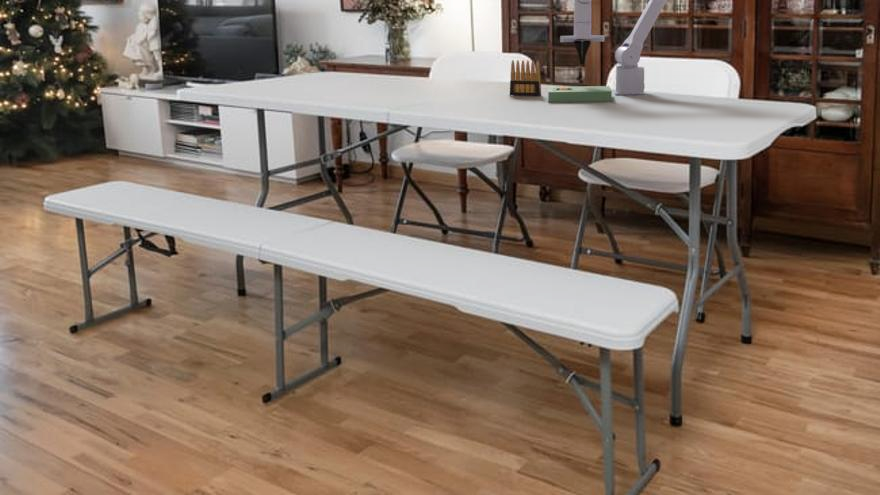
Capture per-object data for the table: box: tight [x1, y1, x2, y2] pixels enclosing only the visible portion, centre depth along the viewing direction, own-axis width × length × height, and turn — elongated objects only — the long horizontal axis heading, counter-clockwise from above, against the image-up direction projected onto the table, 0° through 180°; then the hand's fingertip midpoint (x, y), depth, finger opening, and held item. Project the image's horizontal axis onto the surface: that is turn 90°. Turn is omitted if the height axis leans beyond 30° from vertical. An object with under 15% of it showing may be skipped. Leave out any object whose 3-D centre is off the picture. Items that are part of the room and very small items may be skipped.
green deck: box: [547, 85, 613, 103], centre depth 325 cm, size 20×14×3 cm
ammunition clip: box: [509, 59, 542, 97], centre depth 336 cm, size 11×2×12 cm, turn 67°
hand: (581, 64), depth 332 cm, fingers closed
